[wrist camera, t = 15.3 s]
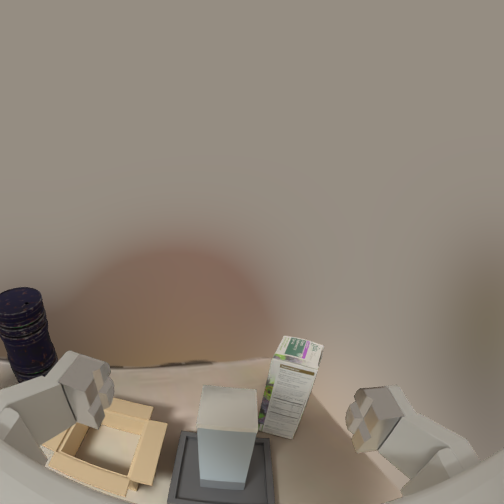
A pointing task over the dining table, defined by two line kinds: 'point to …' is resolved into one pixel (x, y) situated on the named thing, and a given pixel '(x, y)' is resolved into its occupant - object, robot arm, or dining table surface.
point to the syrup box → (289, 386)
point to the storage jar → (26, 333)
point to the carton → (121, 418)
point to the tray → (213, 499)
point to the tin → (226, 435)
